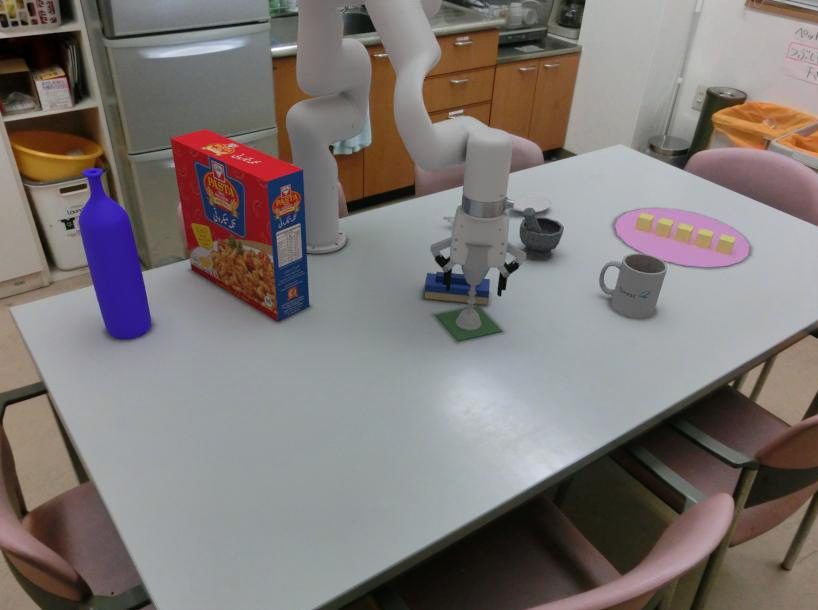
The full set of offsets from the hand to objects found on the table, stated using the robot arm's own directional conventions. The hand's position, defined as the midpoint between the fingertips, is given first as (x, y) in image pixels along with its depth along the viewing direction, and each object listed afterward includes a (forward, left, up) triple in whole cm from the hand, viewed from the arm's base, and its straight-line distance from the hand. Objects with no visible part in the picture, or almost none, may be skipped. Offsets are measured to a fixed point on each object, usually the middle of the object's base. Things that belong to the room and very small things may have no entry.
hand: (473, 290), depth 129 cm
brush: (+2, +10, -8) cm, 13 cm away
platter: (+68, +17, -8) cm, 71 cm away
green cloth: (0, 0, -8) cm, 8 cm away
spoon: (+30, +40, -8) cm, 51 cm away
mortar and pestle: (+28, +21, -8) cm, 36 cm away
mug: (+34, -4, -8) cm, 36 cm away
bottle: (-61, +21, -8) cm, 65 cm away
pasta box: (-37, +28, -8) cm, 47 cm away
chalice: (0, 0, -8) cm, 8 cm away
